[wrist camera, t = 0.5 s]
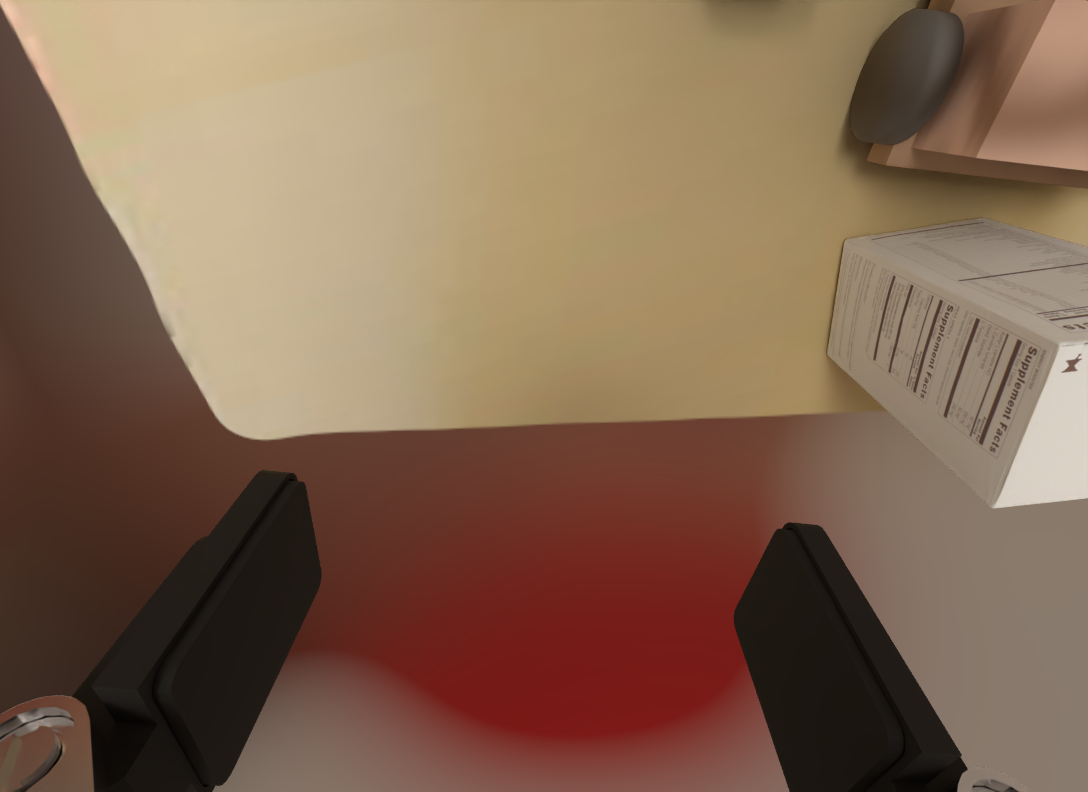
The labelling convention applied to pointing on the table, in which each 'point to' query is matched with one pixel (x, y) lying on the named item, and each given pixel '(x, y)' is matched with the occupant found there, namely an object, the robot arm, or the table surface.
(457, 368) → the table surface
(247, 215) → the table surface
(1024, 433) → the supplement box
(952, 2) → the chassis
